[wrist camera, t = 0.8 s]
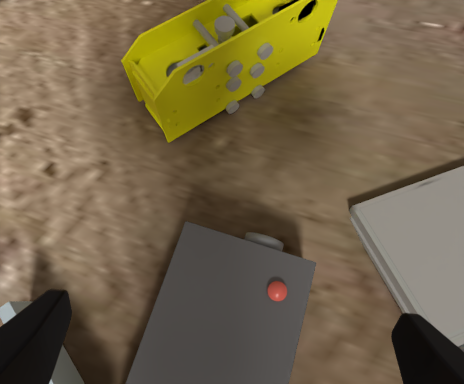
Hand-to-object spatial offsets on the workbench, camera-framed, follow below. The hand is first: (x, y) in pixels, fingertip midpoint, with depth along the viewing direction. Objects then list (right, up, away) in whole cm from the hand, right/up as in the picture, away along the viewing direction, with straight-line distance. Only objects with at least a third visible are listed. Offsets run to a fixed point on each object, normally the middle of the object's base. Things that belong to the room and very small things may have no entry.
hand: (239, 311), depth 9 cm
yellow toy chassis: (0, +13, +21) cm, 25 cm away
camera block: (-1, -7, +14) cm, 16 cm away
